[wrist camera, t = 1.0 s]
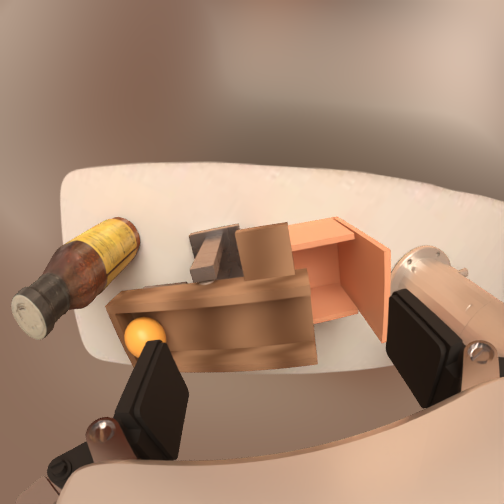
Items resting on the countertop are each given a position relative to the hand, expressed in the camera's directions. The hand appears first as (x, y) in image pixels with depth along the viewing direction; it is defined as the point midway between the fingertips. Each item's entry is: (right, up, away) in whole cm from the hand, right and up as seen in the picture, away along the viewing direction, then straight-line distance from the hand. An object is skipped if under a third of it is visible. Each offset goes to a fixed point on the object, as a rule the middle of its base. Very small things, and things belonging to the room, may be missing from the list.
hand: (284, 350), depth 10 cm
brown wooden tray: (-5, 0, +16) cm, 17 cm away
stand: (-5, +1, +25) cm, 26 cm away
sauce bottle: (-18, +5, +24) cm, 31 cm away
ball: (-11, -4, +13) cm, 18 cm away
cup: (+6, +3, +25) cm, 26 cm away
